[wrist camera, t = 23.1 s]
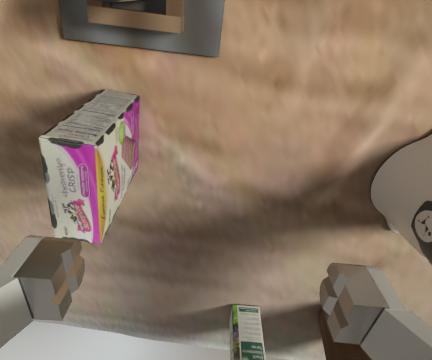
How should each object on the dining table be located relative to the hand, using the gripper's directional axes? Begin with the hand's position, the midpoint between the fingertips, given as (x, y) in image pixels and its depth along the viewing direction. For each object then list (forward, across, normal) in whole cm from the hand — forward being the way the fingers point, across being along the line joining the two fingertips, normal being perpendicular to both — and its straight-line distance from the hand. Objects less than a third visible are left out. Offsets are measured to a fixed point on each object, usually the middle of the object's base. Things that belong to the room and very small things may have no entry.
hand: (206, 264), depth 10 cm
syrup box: (+31, -11, +47) cm, 58 cm away
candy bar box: (+31, +12, +9) cm, 35 cm away
